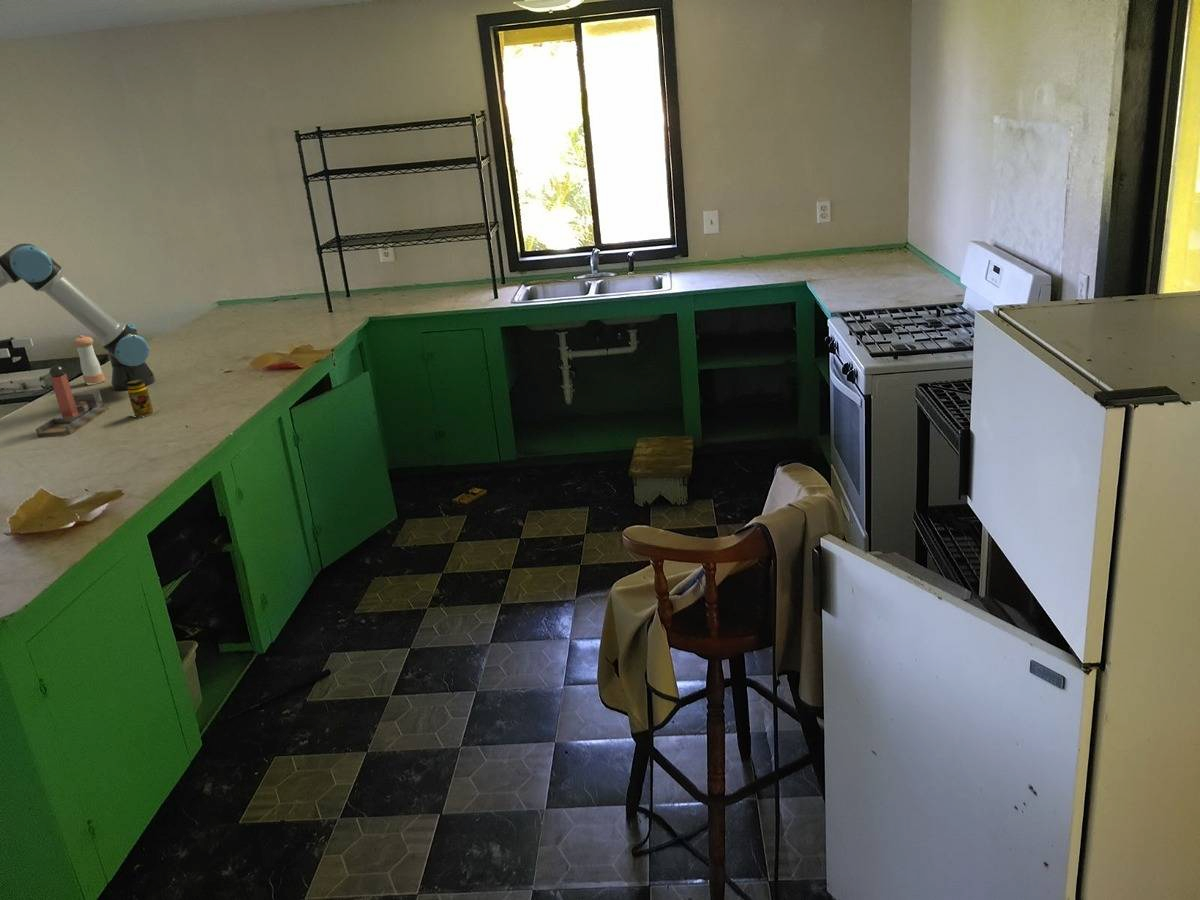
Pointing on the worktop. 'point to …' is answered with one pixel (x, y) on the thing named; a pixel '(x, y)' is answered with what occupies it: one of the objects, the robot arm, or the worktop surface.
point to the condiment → (139, 398)
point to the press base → (94, 408)
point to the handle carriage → (65, 397)
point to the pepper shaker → (88, 360)
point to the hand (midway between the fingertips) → (20, 347)
